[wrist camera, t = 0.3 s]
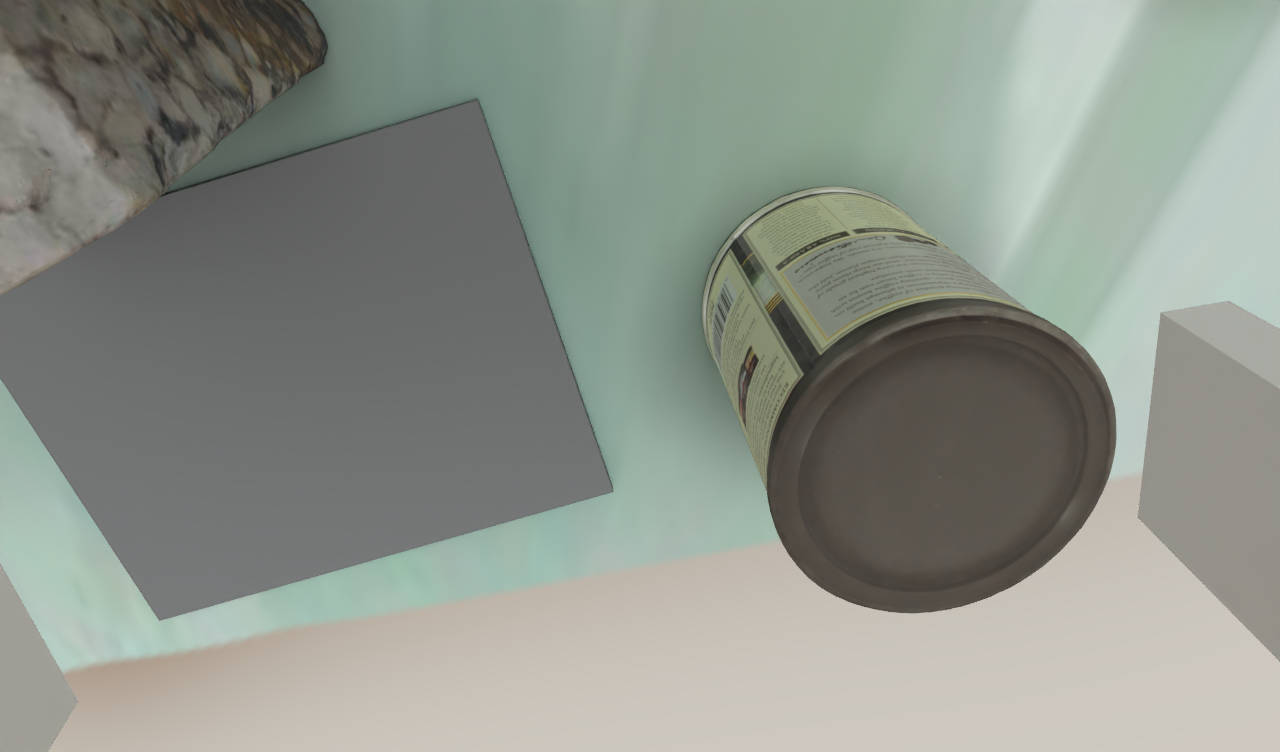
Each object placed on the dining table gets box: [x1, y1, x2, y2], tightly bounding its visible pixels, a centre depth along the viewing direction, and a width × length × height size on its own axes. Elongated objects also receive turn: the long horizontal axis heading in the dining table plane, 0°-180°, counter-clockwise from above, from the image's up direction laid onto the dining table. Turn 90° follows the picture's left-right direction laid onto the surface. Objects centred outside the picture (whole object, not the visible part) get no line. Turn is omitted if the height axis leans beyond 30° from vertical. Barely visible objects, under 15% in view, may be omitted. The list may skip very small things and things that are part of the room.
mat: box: [0, 99, 613, 621], centre depth 39 cm, size 18×22×1 cm
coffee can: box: [702, 186, 1116, 613], centre depth 33 cm, size 10×10×14 cm
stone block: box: [0, 0, 327, 296], centre depth 25 cm, size 13×7×20 cm, turn 120°
